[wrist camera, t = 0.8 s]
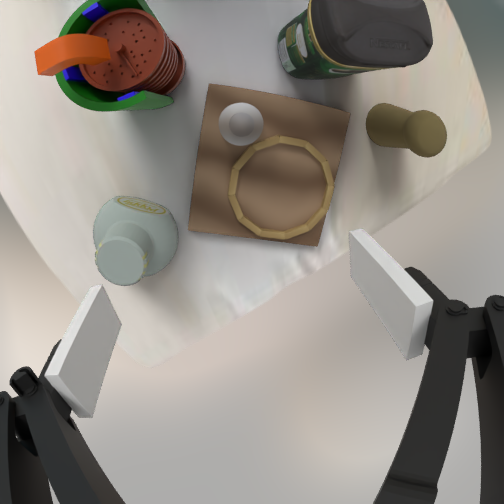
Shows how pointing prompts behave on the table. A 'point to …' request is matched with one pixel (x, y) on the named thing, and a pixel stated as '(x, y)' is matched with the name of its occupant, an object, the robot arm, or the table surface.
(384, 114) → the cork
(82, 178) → the table surface
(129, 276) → the air freshener
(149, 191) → the table surface
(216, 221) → the carrier board
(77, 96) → the motor
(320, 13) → the coffee jar
